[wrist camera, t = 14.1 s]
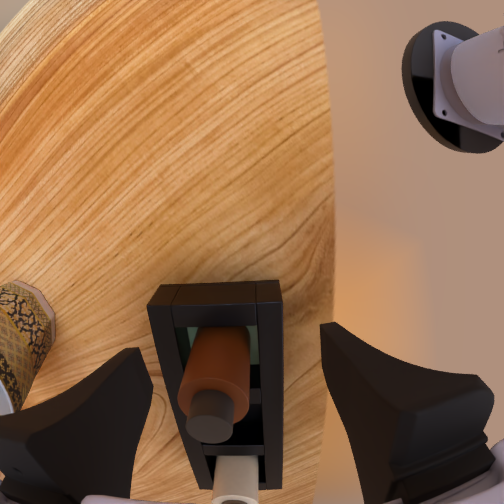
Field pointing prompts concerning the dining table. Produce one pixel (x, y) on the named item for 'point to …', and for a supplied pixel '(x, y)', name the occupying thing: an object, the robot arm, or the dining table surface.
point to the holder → (261, 367)
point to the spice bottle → (216, 382)
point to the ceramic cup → (22, 341)
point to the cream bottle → (236, 480)
